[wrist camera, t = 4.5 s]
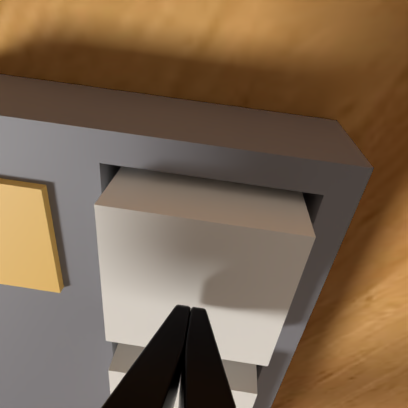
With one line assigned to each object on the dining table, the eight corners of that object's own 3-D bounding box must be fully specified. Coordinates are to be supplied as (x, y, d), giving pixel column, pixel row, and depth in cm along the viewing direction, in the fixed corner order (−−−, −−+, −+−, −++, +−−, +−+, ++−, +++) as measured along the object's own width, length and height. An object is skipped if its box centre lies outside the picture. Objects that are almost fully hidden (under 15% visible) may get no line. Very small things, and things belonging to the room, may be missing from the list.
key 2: (127, 286, 13) (105, 340, 11) (124, 162, 10) (94, 204, 8) (263, 307, 13) (267, 366, 11) (300, 187, 10) (315, 237, 8)
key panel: (235, 423, 24) (234, 497, 21) (51, 393, 25) (19, 461, 21) (336, 120, 12) (377, 173, 8) (-36, 69, 12) (-151, 98, 9)
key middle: (129, 384, 17) (114, 438, 15) (128, 315, 14) (108, 370, 12) (234, 401, 17) (233, 458, 15) (255, 335, 14) (257, 394, 12)
